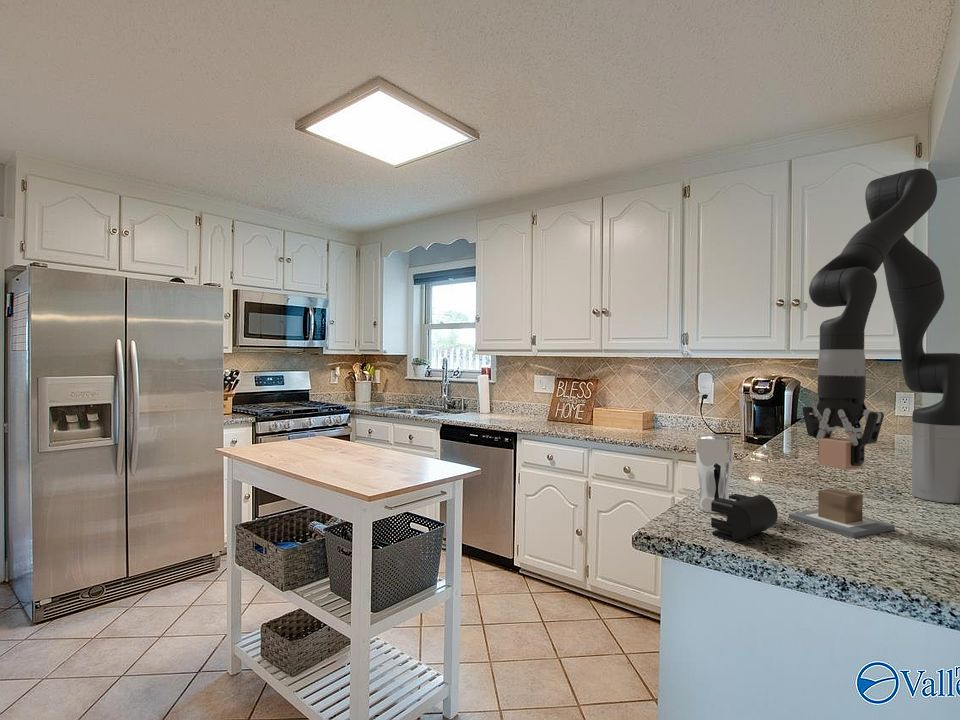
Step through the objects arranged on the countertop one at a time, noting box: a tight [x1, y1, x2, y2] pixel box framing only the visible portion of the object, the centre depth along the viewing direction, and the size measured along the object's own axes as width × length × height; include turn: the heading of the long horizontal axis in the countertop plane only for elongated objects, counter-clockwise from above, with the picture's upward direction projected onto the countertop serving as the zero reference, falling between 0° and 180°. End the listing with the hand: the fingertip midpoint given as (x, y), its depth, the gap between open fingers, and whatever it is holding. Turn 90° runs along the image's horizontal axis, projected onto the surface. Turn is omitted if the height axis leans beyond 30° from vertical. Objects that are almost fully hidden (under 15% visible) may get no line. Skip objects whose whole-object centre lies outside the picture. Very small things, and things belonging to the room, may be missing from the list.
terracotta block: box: [818, 437, 864, 470], centre depth 98 cm, size 5×5×5 cm
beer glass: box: [695, 434, 734, 515], centre depth 107 cm, size 7×7×15 cm
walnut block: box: [817, 488, 864, 524], centre depth 98 cm, size 5×5×5 cm
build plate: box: [788, 509, 896, 539], centre depth 98 cm, size 12×12×1 cm
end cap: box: [710, 493, 779, 543], centre depth 91 cm, size 10×7×7 cm
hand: (840, 462), depth 98 cm, fingers closed on terracotta block, 5 cm apart
